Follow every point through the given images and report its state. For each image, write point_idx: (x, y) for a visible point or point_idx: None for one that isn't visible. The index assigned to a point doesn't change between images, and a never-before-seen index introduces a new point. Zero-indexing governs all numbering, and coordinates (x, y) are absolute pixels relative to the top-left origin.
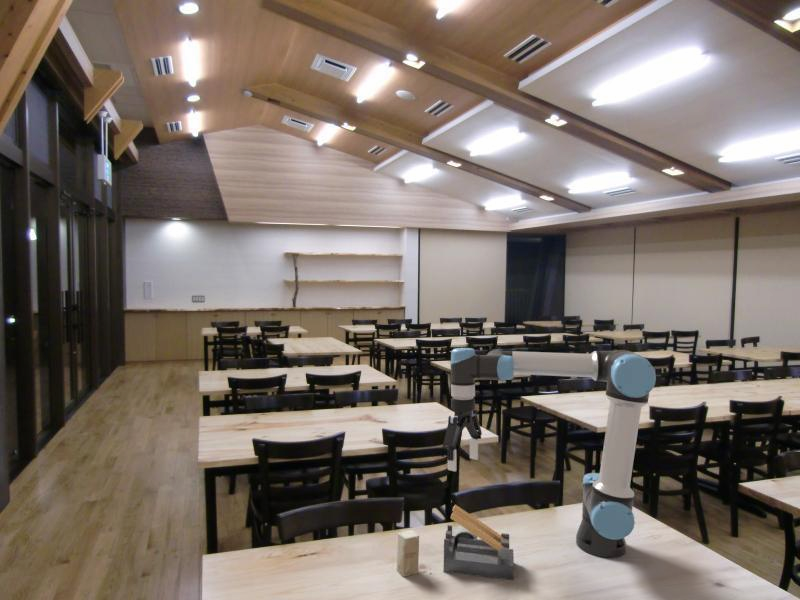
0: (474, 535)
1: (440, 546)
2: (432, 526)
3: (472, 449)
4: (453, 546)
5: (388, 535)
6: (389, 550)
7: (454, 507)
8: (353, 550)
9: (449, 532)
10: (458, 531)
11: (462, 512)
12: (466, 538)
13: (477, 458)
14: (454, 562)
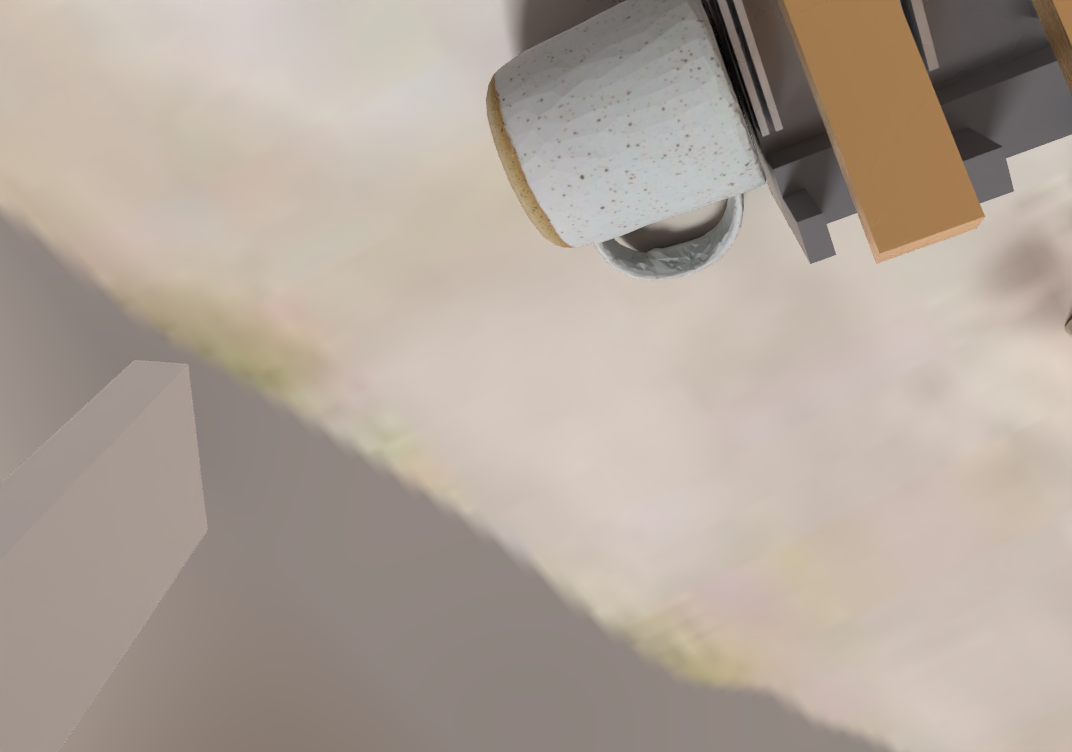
0: (667, 17)
1: (675, 296)
2: (429, 482)
3: (97, 603)
4: (951, 97)
5: (731, 647)
6: (921, 548)
7: (978, 215)
8: (1032, 714)
9: None
10: (711, 173)
11: (923, 109)
12: (745, 65)
13: (149, 373)
14: None
